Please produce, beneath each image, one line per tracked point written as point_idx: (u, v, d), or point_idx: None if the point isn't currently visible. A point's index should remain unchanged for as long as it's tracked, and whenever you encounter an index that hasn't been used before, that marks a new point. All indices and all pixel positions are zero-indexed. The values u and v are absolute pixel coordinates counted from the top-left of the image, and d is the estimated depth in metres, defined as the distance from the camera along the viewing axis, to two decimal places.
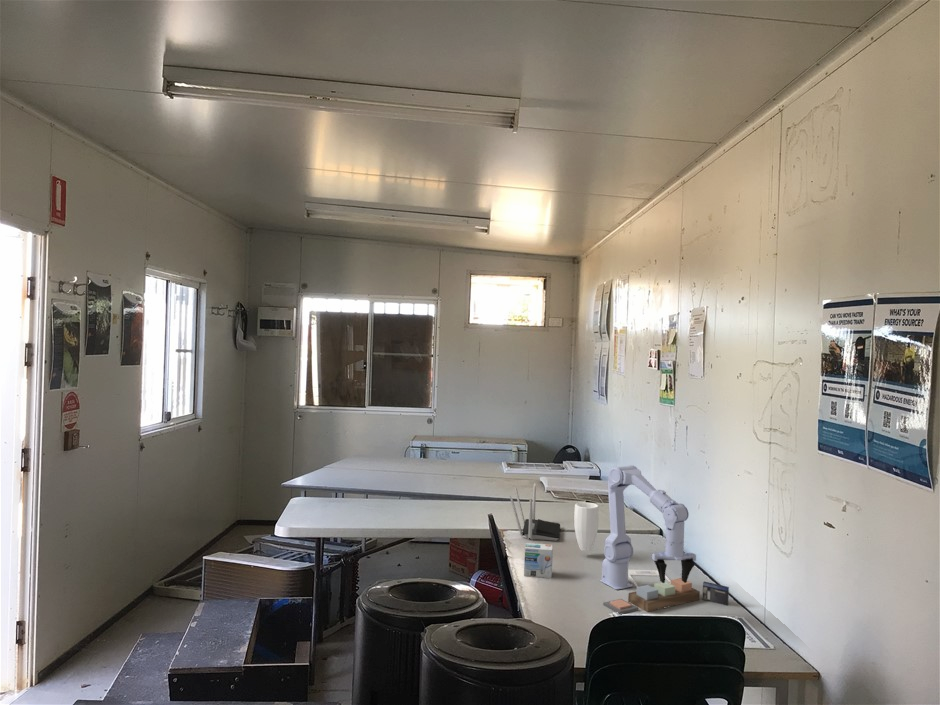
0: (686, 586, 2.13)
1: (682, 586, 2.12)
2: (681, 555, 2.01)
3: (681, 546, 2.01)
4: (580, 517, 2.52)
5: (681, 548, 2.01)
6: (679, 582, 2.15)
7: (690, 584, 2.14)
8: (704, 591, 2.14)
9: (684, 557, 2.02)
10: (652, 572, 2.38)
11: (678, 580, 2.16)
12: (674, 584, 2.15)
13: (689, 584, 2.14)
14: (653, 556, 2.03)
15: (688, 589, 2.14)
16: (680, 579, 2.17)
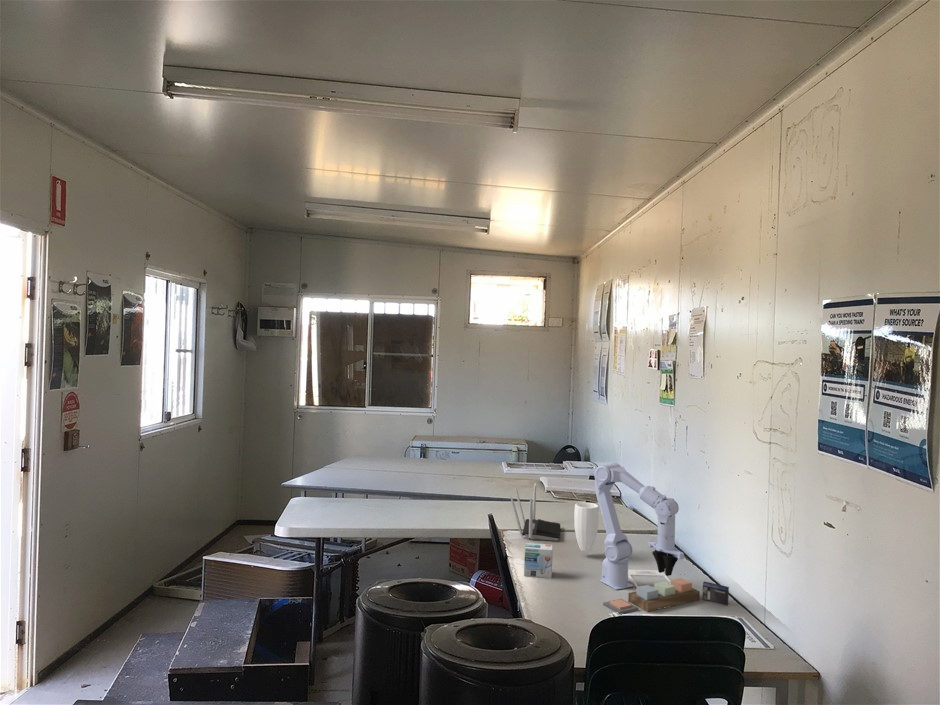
0: (686, 586, 2.13)
1: (682, 586, 2.12)
2: (663, 548, 2.09)
3: (663, 539, 2.10)
4: (580, 517, 2.52)
5: (663, 541, 2.10)
6: (679, 582, 2.15)
7: (690, 584, 2.14)
8: (704, 591, 2.14)
9: (666, 551, 2.09)
10: (652, 572, 2.38)
11: (678, 580, 2.16)
12: (674, 584, 2.15)
13: (689, 584, 2.14)
14: None
15: (688, 589, 2.14)
16: (680, 579, 2.17)
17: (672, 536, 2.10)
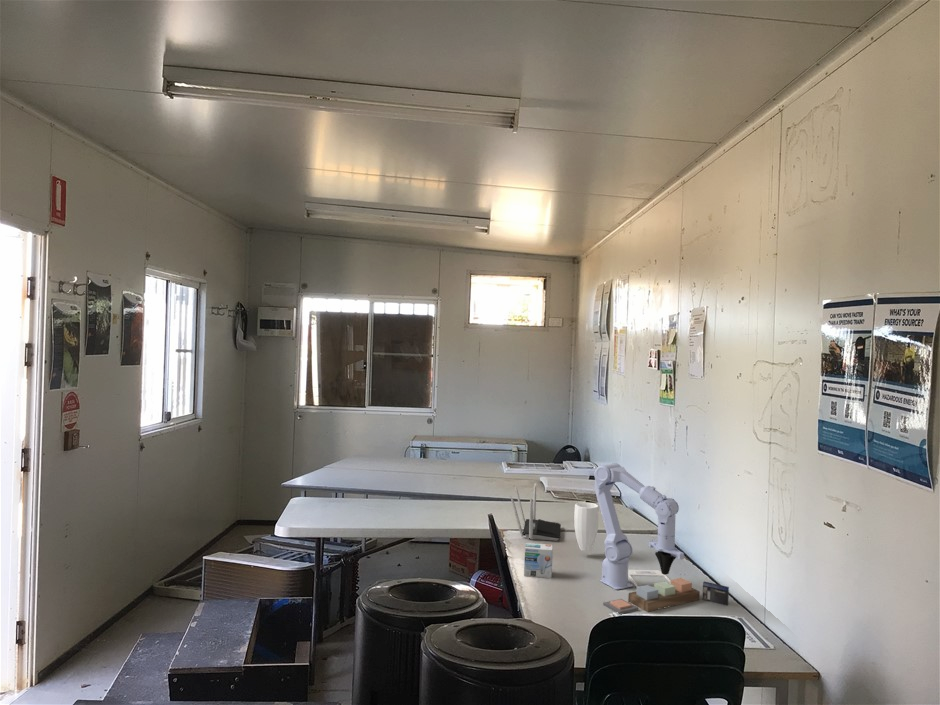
0: (686, 586, 2.13)
1: (682, 586, 2.12)
2: (663, 548, 2.10)
3: (663, 539, 2.10)
4: (580, 517, 2.52)
5: (663, 541, 2.10)
6: (679, 582, 2.15)
7: (690, 584, 2.14)
8: (704, 591, 2.14)
9: (666, 551, 2.09)
10: (652, 572, 2.38)
11: (678, 580, 2.16)
12: (674, 584, 2.15)
13: (689, 584, 2.14)
14: None
15: (688, 589, 2.14)
16: (680, 579, 2.17)
17: (673, 536, 2.10)
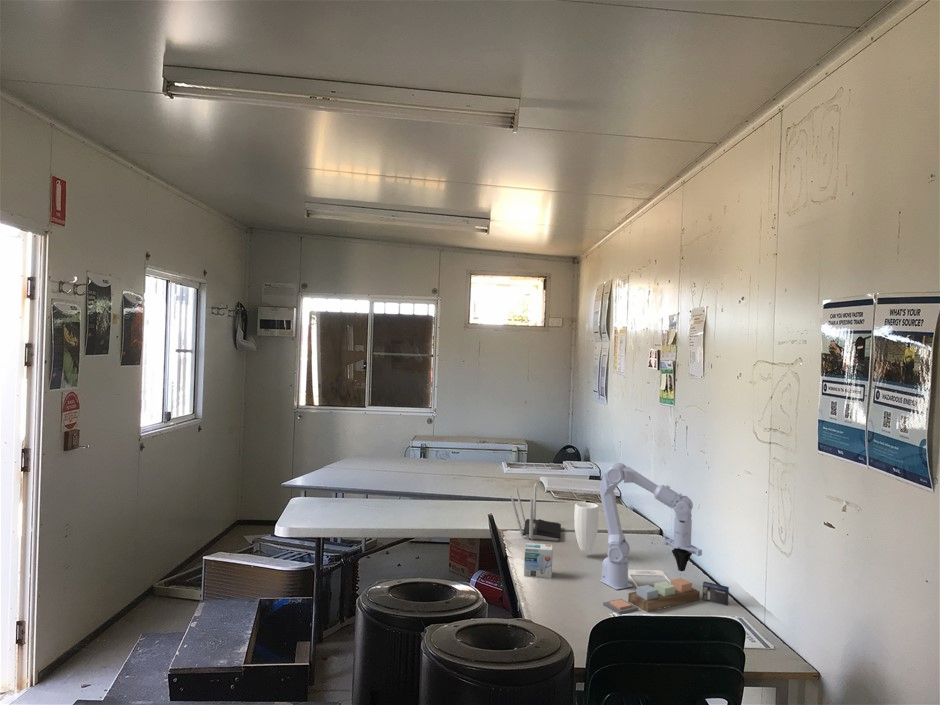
0: (686, 586, 2.13)
1: (682, 586, 2.12)
2: (681, 545, 2.13)
3: (680, 536, 2.13)
4: (580, 517, 2.52)
5: (680, 538, 2.13)
6: (679, 582, 2.15)
7: (690, 584, 2.14)
8: (704, 591, 2.14)
9: (684, 548, 2.12)
10: (652, 572, 2.38)
11: (678, 580, 2.16)
12: (674, 584, 2.15)
13: (689, 584, 2.14)
14: None
15: (688, 589, 2.14)
16: (680, 579, 2.17)
17: (690, 533, 2.13)
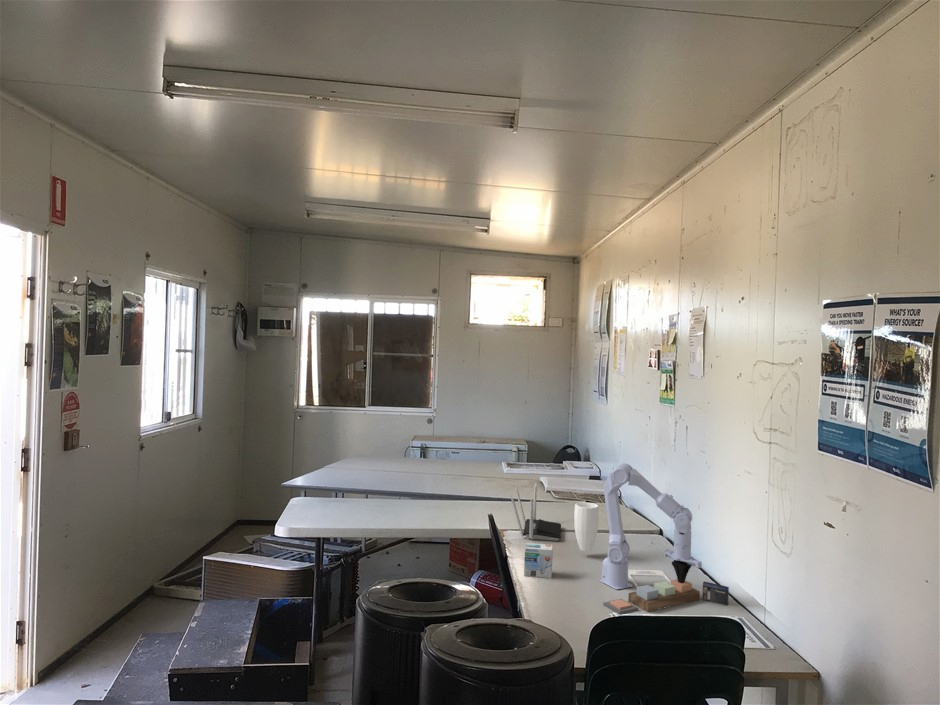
0: (686, 587, 2.13)
1: (682, 587, 2.12)
2: (680, 557, 2.13)
3: (680, 548, 2.13)
4: (580, 517, 2.52)
5: (680, 550, 2.13)
6: None
7: (690, 585, 2.14)
8: (704, 591, 2.14)
9: (683, 560, 2.12)
10: (652, 572, 2.38)
11: None
12: (674, 585, 2.15)
13: (689, 585, 2.14)
14: None
15: (688, 590, 2.14)
16: None
17: (689, 545, 2.13)
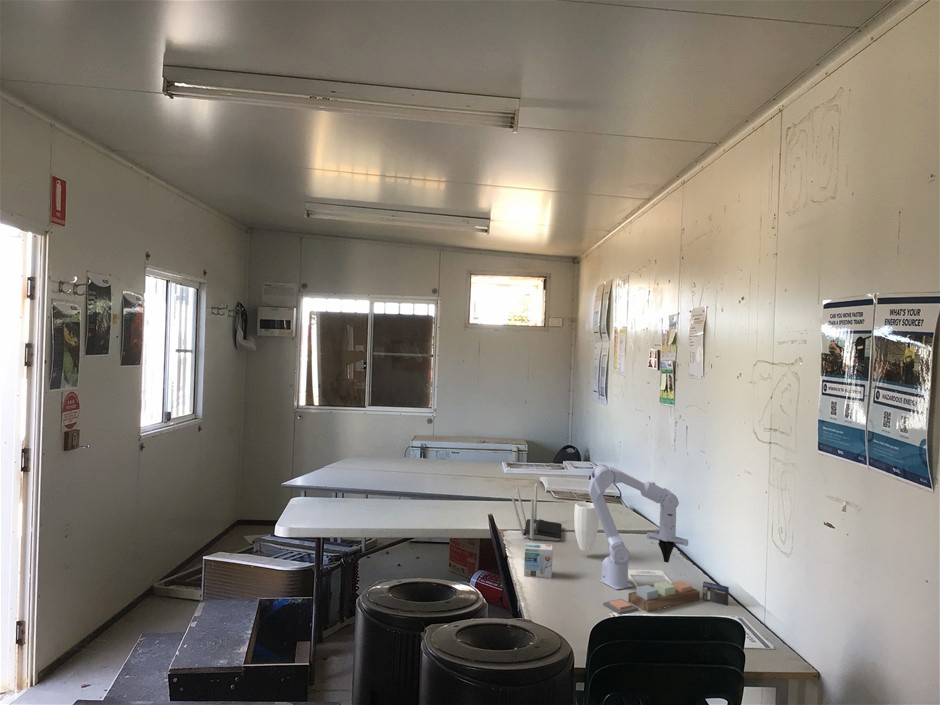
0: (686, 589, 2.13)
1: (682, 589, 2.12)
2: (669, 537, 2.22)
3: (668, 529, 2.22)
4: (580, 517, 2.52)
5: (669, 531, 2.22)
6: (679, 585, 2.15)
7: (690, 587, 2.14)
8: (704, 591, 2.14)
9: (672, 540, 2.21)
10: (652, 572, 2.38)
11: (678, 583, 2.16)
12: None
13: (689, 587, 2.14)
14: None
15: None
16: (680, 582, 2.17)
17: (675, 525, 2.23)
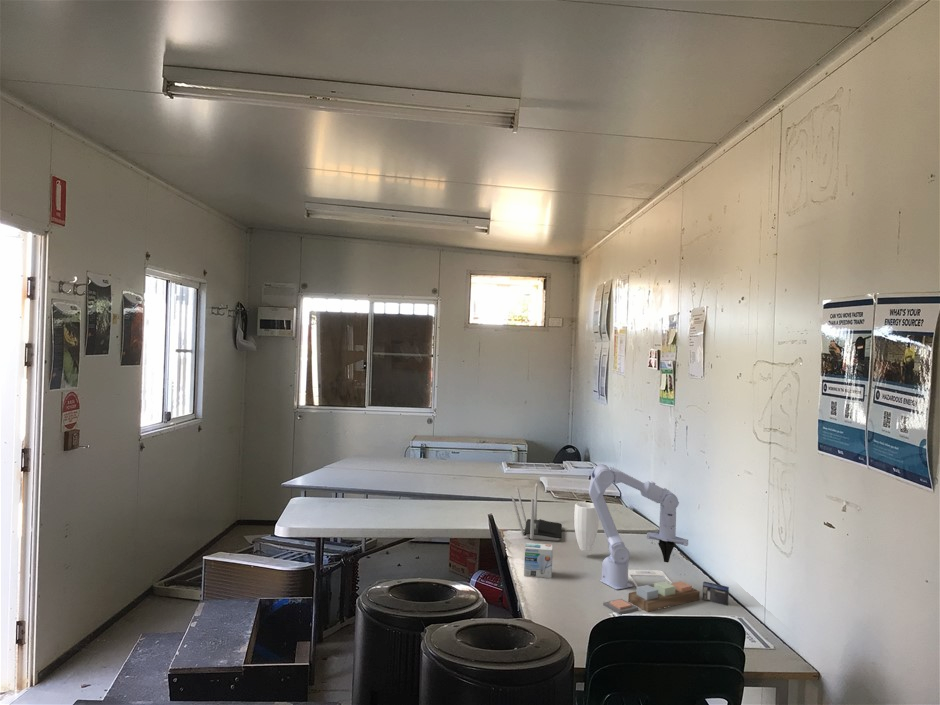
0: (686, 589, 2.13)
1: (682, 589, 2.12)
2: (669, 537, 2.22)
3: (668, 529, 2.22)
4: (580, 517, 2.52)
5: (669, 531, 2.22)
6: (679, 585, 2.15)
7: (690, 587, 2.14)
8: (704, 591, 2.14)
9: (672, 540, 2.21)
10: (652, 572, 2.38)
11: (678, 583, 2.16)
12: None
13: (689, 587, 2.14)
14: None
15: None
16: (680, 582, 2.17)
17: (675, 525, 2.23)
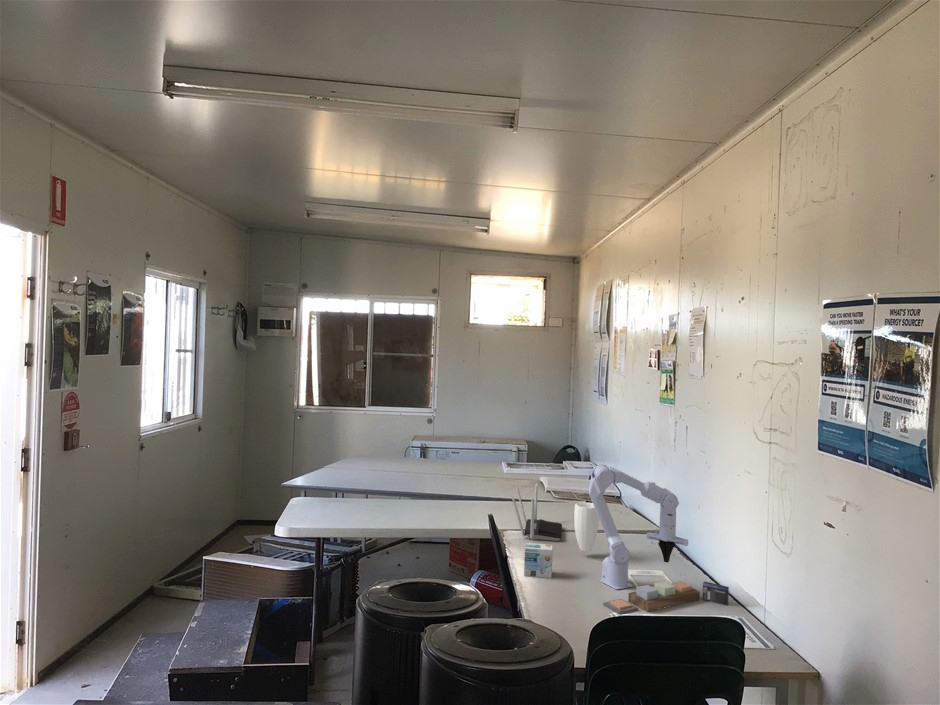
0: (686, 589, 2.13)
1: (682, 589, 2.12)
2: (669, 537, 2.22)
3: (668, 529, 2.22)
4: (580, 517, 2.52)
5: (669, 531, 2.22)
6: (679, 585, 2.15)
7: (690, 587, 2.14)
8: (704, 591, 2.14)
9: (672, 540, 2.21)
10: (652, 572, 2.38)
11: (678, 583, 2.16)
12: None
13: (689, 587, 2.14)
14: None
15: None
16: (680, 582, 2.17)
17: (675, 525, 2.23)
